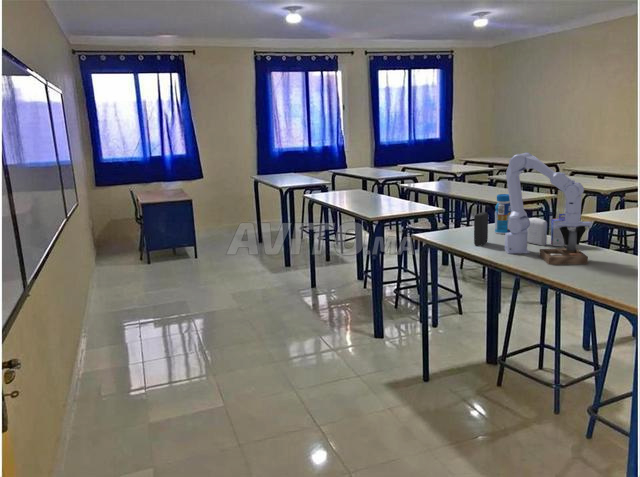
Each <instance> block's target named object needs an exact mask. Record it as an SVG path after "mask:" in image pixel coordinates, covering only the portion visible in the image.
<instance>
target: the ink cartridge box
mask: <svg viewBox="0 0 640 477" xmlns="http://www.w3.org/2000/svg"><path fill="white" fill-rule="evenodd" d="M565 215H566V213H558V218H551V220H550V221H551V223H550V225H551V227H550V231H551V232H550V245H551V246H552V247H564V246H565V247H566V245H565V244H564V239H563V235H562V233H561V231H560V229H559V228H554V223H559V222H565ZM567 228H568V230H569V229H575V230H576V227H567Z"/></svg>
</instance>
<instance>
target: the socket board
mask: <svg viewBox="0 0 640 477" xmlns="http://www.w3.org/2000/svg"><path fill="white" fill-rule="evenodd" d="M539 256H540V258H541V259H542V260H543V261H545V262H546V263H547V265H586V264H589V263H588V260H589V256H588V255H586V254H585V253H584V252H582V251H581V250H580V249H578V248H577V250H576V251H569V250H566V248H564V247H563V248H562V247H561V248H539Z"/></svg>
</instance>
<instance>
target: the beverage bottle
mask: <svg viewBox="0 0 640 477" xmlns="http://www.w3.org/2000/svg"><path fill="white" fill-rule="evenodd" d="M496 201H497V203H496V205H495V207H494V209H495V211H494V232H495V234H499V235H505V233H509V232H511V231H510V230H509V228H508V224H509V216H510V214H511V206H510V199H509V193H500V194H497V195H496Z"/></svg>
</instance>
